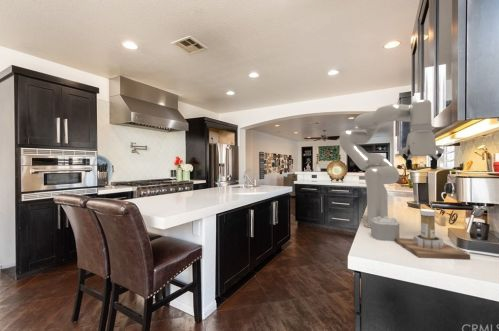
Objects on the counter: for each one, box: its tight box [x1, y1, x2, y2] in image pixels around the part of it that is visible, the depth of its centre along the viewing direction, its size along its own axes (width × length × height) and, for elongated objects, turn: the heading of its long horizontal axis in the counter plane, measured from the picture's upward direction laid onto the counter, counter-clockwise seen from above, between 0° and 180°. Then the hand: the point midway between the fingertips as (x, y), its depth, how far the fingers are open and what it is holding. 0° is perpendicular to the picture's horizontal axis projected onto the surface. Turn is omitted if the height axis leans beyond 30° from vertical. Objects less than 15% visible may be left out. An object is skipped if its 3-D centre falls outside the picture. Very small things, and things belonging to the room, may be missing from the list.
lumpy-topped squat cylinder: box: [370, 216, 401, 242], centre depth 108 cm, size 10×13×9 cm
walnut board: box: [393, 237, 471, 260], centre depth 91 cm, size 18×16×2 cm
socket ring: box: [413, 233, 444, 250], centre depth 91 cm, size 9×9×3 cm
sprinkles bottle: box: [419, 208, 436, 240], centre depth 91 cm, size 5×5×14 cm
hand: (421, 169), depth 103 cm, fingers open, 9 cm apart
